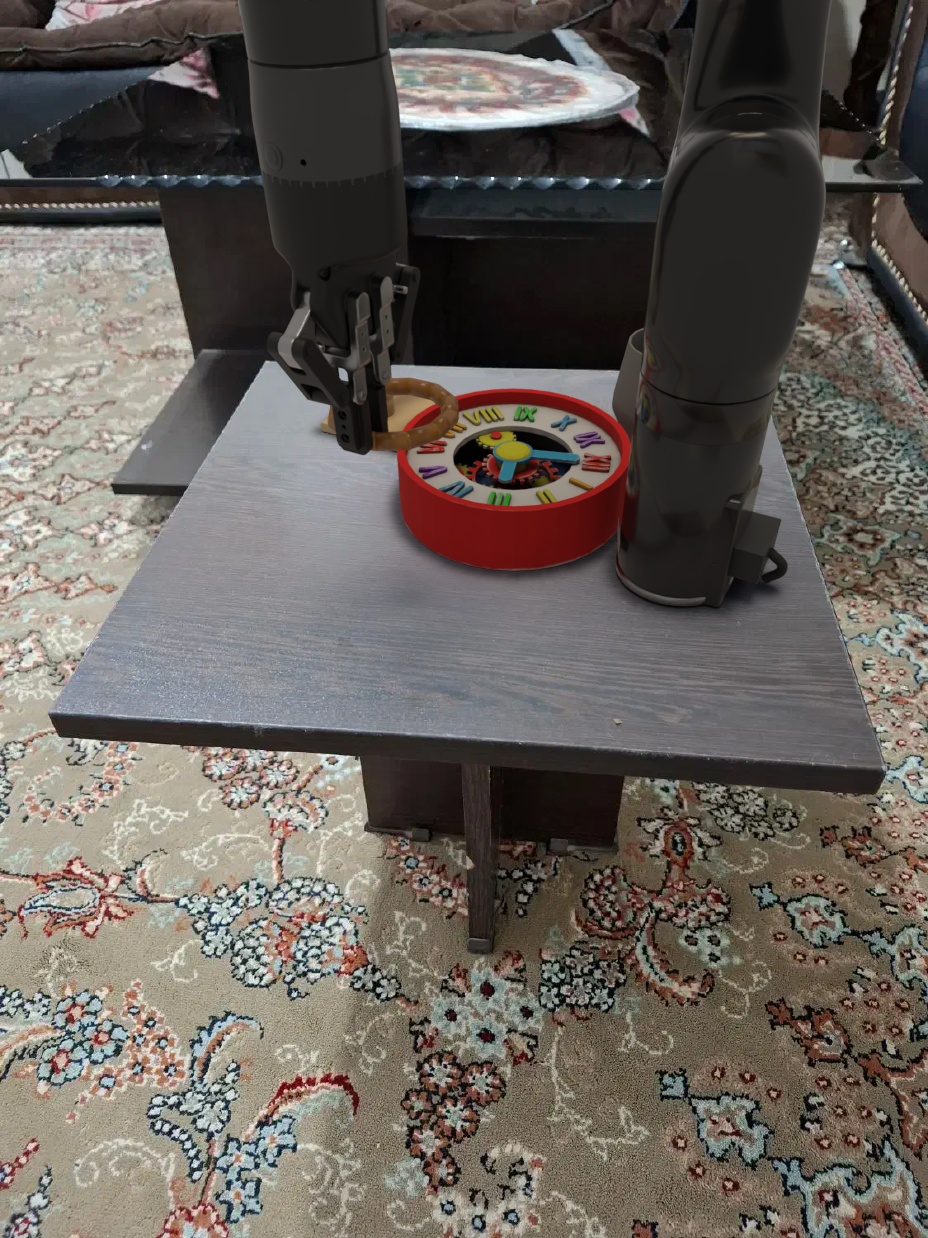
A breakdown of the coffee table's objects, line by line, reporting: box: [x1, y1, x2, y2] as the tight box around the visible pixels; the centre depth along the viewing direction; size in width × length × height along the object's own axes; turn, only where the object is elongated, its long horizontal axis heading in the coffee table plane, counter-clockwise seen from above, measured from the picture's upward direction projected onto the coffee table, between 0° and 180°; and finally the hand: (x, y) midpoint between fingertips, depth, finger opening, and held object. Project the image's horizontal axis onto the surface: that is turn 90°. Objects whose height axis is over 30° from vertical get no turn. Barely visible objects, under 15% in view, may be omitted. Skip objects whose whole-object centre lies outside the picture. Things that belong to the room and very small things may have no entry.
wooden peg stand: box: [320, 366, 435, 453], centre depth 87 cm, size 9×9×12 cm
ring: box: [327, 377, 459, 452], centre depth 61 cm, size 9×9×1 cm
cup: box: [611, 327, 644, 443], centre depth 84 cm, size 10×9×10 cm
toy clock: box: [396, 387, 631, 572], centre depth 78 cm, size 20×6×20 cm
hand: (364, 442), depth 59 cm, fingers closed on ring, 1 cm apart
